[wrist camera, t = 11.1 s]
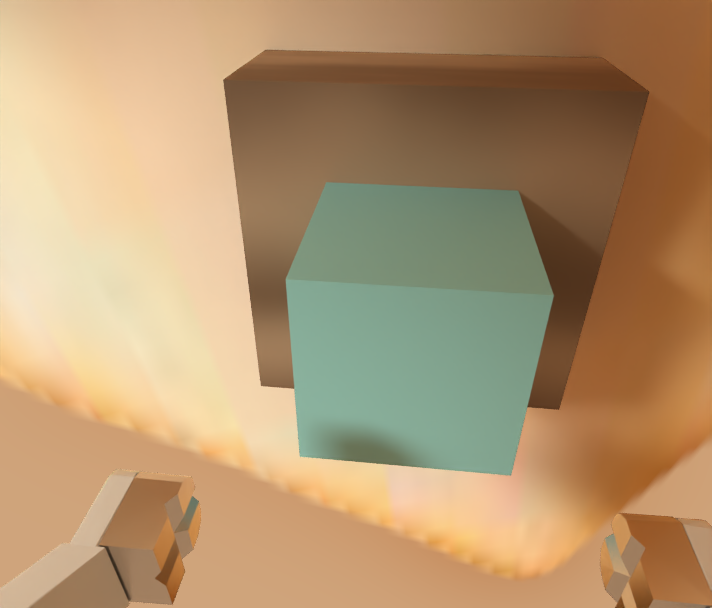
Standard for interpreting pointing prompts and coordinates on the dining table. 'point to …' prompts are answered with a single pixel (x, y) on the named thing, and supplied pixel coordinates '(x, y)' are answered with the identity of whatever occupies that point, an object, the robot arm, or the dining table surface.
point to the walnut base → (432, 163)
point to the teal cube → (416, 326)
